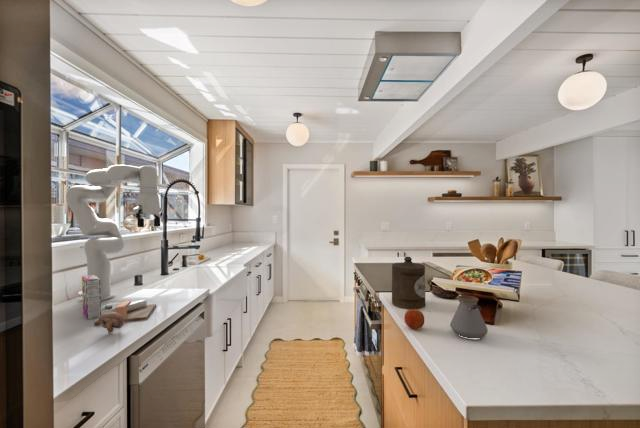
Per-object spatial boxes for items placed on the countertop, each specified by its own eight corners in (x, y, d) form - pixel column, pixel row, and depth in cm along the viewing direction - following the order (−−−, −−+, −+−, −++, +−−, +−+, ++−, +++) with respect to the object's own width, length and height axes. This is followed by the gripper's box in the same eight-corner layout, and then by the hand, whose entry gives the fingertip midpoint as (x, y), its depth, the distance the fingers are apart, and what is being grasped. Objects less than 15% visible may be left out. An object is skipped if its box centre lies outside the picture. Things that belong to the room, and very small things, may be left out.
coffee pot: (448, 327, 107) (448, 286, 107) (483, 330, 103) (483, 288, 103) (455, 353, 86) (454, 303, 86) (499, 359, 83) (499, 307, 83)
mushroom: (95, 335, 103) (94, 312, 103) (112, 328, 109) (111, 307, 109) (110, 338, 101) (109, 315, 101) (126, 331, 107) (126, 309, 107)
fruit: (424, 333, 101) (424, 310, 101) (403, 331, 104) (403, 308, 104) (424, 326, 108) (424, 304, 108) (405, 324, 110) (404, 303, 110)
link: (105, 318, 116) (105, 308, 116) (98, 316, 118) (98, 307, 118) (148, 306, 132) (148, 297, 132) (141, 304, 134) (141, 295, 134)
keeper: (116, 319, 116) (115, 307, 116) (122, 312, 124) (122, 301, 124) (124, 318, 117) (124, 306, 117) (131, 311, 125) (130, 300, 125)
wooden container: (425, 310, 125) (425, 259, 125) (390, 307, 129) (389, 258, 129) (425, 301, 139) (424, 255, 139) (393, 298, 143) (392, 254, 143)
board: (94, 325, 113) (94, 322, 113) (110, 311, 130) (110, 308, 130) (146, 319, 118) (146, 316, 118) (156, 306, 135) (156, 304, 135)
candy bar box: (81, 314, 126) (81, 276, 126) (96, 311, 130) (95, 274, 130) (86, 320, 119) (85, 280, 119) (101, 316, 123) (101, 278, 123)
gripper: (156, 193, 151) (156, 226, 151) (126, 190, 134) (127, 227, 134) (168, 192, 149) (169, 225, 149) (139, 189, 132) (140, 227, 132)
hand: (149, 226), depth 141 cm, fingers open, 9 cm apart
